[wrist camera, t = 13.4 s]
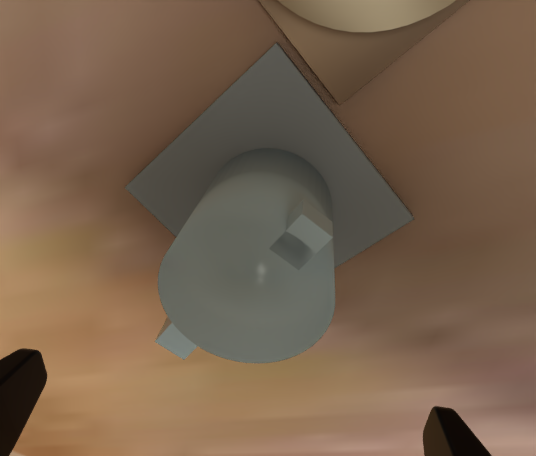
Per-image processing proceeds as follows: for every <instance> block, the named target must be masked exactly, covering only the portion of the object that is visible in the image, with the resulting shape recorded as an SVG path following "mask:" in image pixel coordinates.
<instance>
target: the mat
mask: <svg viewBox="0 0 536 456" xmlns="http://www.w3.org/2000/svg"><path fill="white" fill-rule="evenodd" d="M261 148H273V149H280V150H284V151H288V152H291V153H293V154H296V155H298V156H300V157H302V158H303V159H305V160H306V161H308V162H309V163H310V164H311V165H312V166H314V167H315V168H316V169H317V171H318V172H319V173H320V174H321V175H322V177H323V179H324V180H325V182H326V184H327V186H328V188H329V191H330V195H331V200H332V218H333V247H334V268H336V267H338V266H339V265H341V264H342V263H344V262H346V261H347V260H349V259H350V258H352V257H354V256H355V255H357V254H359V253H360V252H362V251H363V250H365V249H367V248H368V247H370V246H372V245H373V244H375V243H376V242H378V241H380V240H381V239H383V238H384V237H386V236H388V235H389V234H391V233H393V232H394V231H396V230H397V229H399V228H401V227H402V226H404V225H405V224H407V223H409V222H410V221H412V220H414V217H413V215H412V214H411V213H410V211H409V210H408V209H407V207H406V206H405V205H404V204H403V202H402V201H401V200H400V199H399V197H398V196H397V195H396V193H395V192H394V191H393V190H392V188H391V187H390V186H389V184H388V183H387V182H386V181H385V179H384V178H383V177H382V176H381V174H380V173H379V172H378V170H377V169H376V168H375V167H374V165H373V164H372V163H371V161H370V160H369V159H368V158H367V156H366V155H365V154H364V153H363V151H362V150H361V149H360V147H359V146H358V145H357V144H356V142H355V141H354V140H353V138H352V137H351V136H350V135H349V133H348V132H347V131H346V130H345V128H344V127H343V126H342V124H341V123H340V122H339V121H338V119H337V118H336V117H335V115H334V114H333V113H332V112H331V110H330V109H329V108H328V107H327V105H326V104H325V103H324V101H323V100H322V99H321V98H320V96H319V95H318V94H317V92H316V91H315V90H314V89H313V87H312V86H311V85H310V84H309V82H308V81H307V80H306V78H305V77H304V76H303V75H302V73H301V72H300V71H299V69H298V68H297V67H296V66H295V64H294V63H293V62H292V61H291V59H290V58H289V57H288V55H287V54H286V53H285V52H284V50H283V49H282V48H281V46H280V45H279V44H278V43H276V44H275V45H274V46H272V47H271V48H270V49H269V50H268V51H267V52H266V53H265V54H264V55H263V56H262V57H261V58H260V59H259V60H258V61H257V62H256V63H255V64H254V65H253V66H252V67H250V68H249V69H248V70H247V71H246V72H245V73H244V74H243V75H242V76H241V77H240V78H239V79H238V80H237V81H236V82H235V83H234V84H233V85H232V86H231V87H229V88H228V89H227V90H226V91H225V92H224V93H223V94H222V95H221V96H220V97H219V98H218V99H217V100H216V101H215V102H214V103H213V104H212V105H211V106H210V107H209V108H207V109H206V110H205V111H204V112H203V113H202V114H201V115H200V116H199V117H198V118H197V119H196V120H195V121H194V122H193V123H192V124H191V125H190V126H189V127H188V128H186V129H185V130H184V131H183V132H182V133H181V134H180V135H179V136H178V137H177V138H176V139H175V140H174V141H173V142H172V143H171V144H170V145H169V146H168V147H167V148H165V149H164V150H163V151H162V152H161V153H160V154H159V155H158V156H157V157H156V158H155V159H154V160H153V161H152V162H151V163H150V164H149V165H148V166H147V167H146V168H145V169H143V170H142V171H141V172H140V173H139V174H138V175H137V176H136V177H135V178H134V179H133V180H132V181H131V182H130V183H129V184H128V185H127V186H126V187H125V188H126V189H127V190H128V191H129V192H130V193H131V194H132V195H133V196H134V197H135V198H136V199H137V200H138V201H139V202H140V203H141V204H142V205H143V206H144V207H145V208H146V209H147V210H148V211H149V212H151V213H152V214H153V215H154V216H155V217H156V218H157V219H158V220H159V221H160V222H161V223H162V224H163V225H164V226H165V227H166V228H167V229H168V230H169V231H170V232H171V233H172V234H173V235H174V236H176V237H177V236H178V234H179V232H180V231H181V229H182V228H183V226H184V225H185V223H186V222H187V220H188V218H189V217H190V215H191V214H192V212H193V211H194V209H195V208H196V206H197V205H198V203H199V201H200V200H201V198H202V197H203V195H204V194H205V192H206V191H207V189H208V187H209V186H210V184H211V183H212V181H213V180H214V178H215V177H216V175H217V174H218V172H219V171H220V169H221V168H222V167H223V166H224V165H225V164H226V163H227V162H228V161H230V160H231V159H232V158H234V157H236V156H237V155H239V154H242V153H244V152H247V151H250V150H254V149H261Z"/></svg>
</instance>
